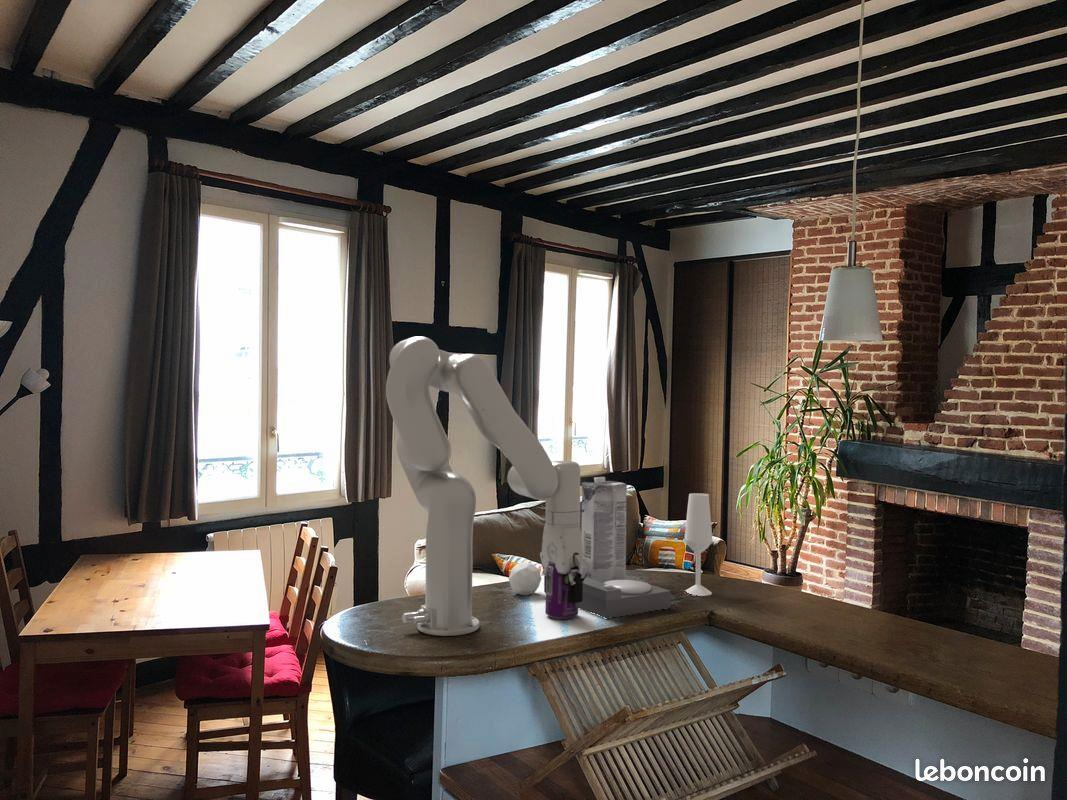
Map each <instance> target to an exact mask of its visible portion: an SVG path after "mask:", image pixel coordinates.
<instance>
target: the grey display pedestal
mask: <svg viewBox="0 0 1067 800" xmlns="http://www.w3.org/2000/svg"><path fill="white" fill-rule="evenodd" d="M671 594H672V590H669V589H665V588H662V587H660V586H656V585H653V584H650V583H649V582H648V583H647V582H645V581H642V580H641V581H640V580H638V579H625V580H611V581H607V582H604V583H602V582H599V581H596V580H593V579H590V578H587V577H586V578H585V579H584V583H583V600H582V602H578V609H579V608H580V610H582V609H583V610H582V611H584V610H586V611H585V612H587V611H589V612H592V613H595V614H598V615H600V616H602V617H605V618H610V617H617V618H619V617H618V616H623V617H627V616H626V615H629V616H633V615H632V614H635V615H638V614H637V613H641V612H646V611H651V610H659V609H664V608H670V607H671V604H672V603H671V600H672V595H671ZM659 611H660V610H659ZM589 612H588V613H589ZM592 613H591V614H592ZM641 614H642V613H641Z"/></svg>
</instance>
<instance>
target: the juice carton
mask: <svg viewBox="0 0 1067 800" xmlns="http://www.w3.org/2000/svg"><path fill="white" fill-rule="evenodd" d="M593 480H594V482H593V481H591V482H589V481H586V482H585V481H584V482H582V483H581V537H582V549H583V560H584V562H585V563H586V564H587V565H588V570H587V573H586V577H587V578H590V579H593V580H596V581H599V582H602V583H604V582H607V581H611V580H626V568H627V565H626V563H627V493H628V492H627V487H628V484H627V483H624V482H620V481H613V480H606V477H605V476H598V477H595V476H594V477H593Z"/></svg>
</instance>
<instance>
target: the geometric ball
mask: <svg viewBox="0 0 1067 800" xmlns="http://www.w3.org/2000/svg"><path fill="white" fill-rule="evenodd" d="M508 576H509V577H508V582H509V585H510V588H511V589H512V591H514V592H515V593H516V594H517V595H522V596H528V595H532V594H535V593H536V591H537V590H538V589H539V586H540V585H541V582H542V575H541V572H540V569H539V568H538V567H537V566H536V565H535V564H534V563H530V562H526V561H524V562H519V563H516V564H515V565H514V567H513V568H511V571H510V573H509V575H508Z"/></svg>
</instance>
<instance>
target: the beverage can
mask: <svg viewBox="0 0 1067 800" xmlns="http://www.w3.org/2000/svg"><path fill="white" fill-rule="evenodd" d="M548 563H549V564H548V566H547V568H546V593H545V606H544V607H545V608H544V609H545V610H544V611H545V613H544V614H546V615H547V616H548V617H550V618H551V619H555V620H569V619H572V618H574V617H576V616H577V615H578V614H579V608H578V603H569V584H571V583H570V580H569V578H568V575H567V573H566V574H560V573H558V571H557V569H556V567H555V565H556V564H555V563H552V562H549V561H548ZM572 569H575V568H571V570H572ZM573 576H574V577H575V576H576V574H573Z"/></svg>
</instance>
